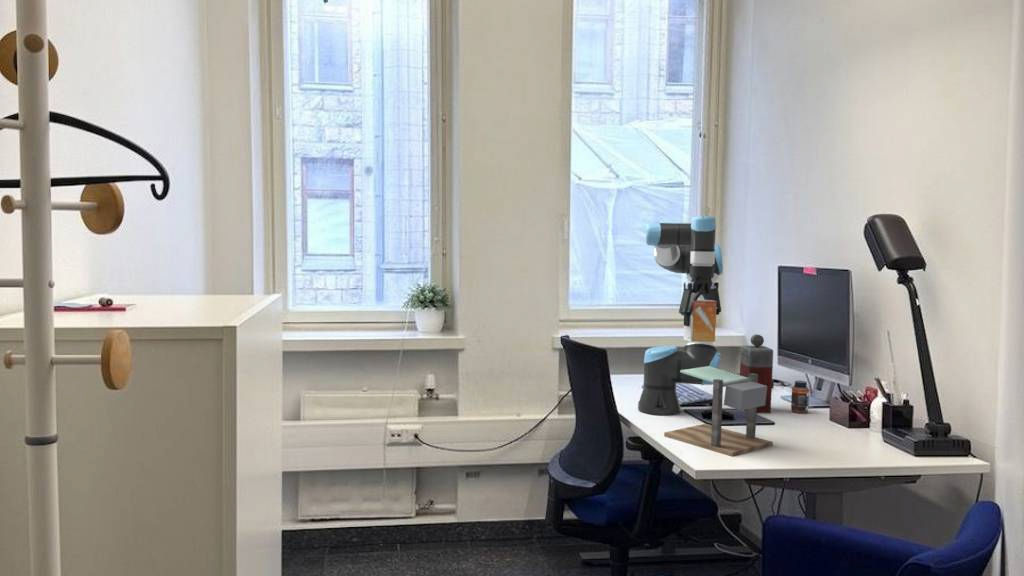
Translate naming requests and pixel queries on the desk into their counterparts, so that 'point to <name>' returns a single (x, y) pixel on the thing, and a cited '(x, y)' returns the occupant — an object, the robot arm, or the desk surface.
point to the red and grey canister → (758, 367)
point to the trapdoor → (733, 387)
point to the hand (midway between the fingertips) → (699, 335)
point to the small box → (703, 321)
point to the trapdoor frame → (719, 437)
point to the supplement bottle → (800, 397)
